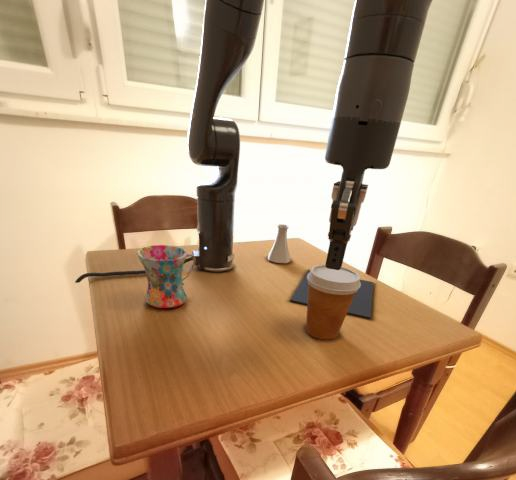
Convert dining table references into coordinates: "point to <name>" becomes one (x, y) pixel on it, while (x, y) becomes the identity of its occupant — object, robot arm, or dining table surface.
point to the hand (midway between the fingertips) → (333, 267)
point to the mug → (164, 274)
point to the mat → (358, 306)
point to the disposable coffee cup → (329, 299)
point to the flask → (280, 247)
